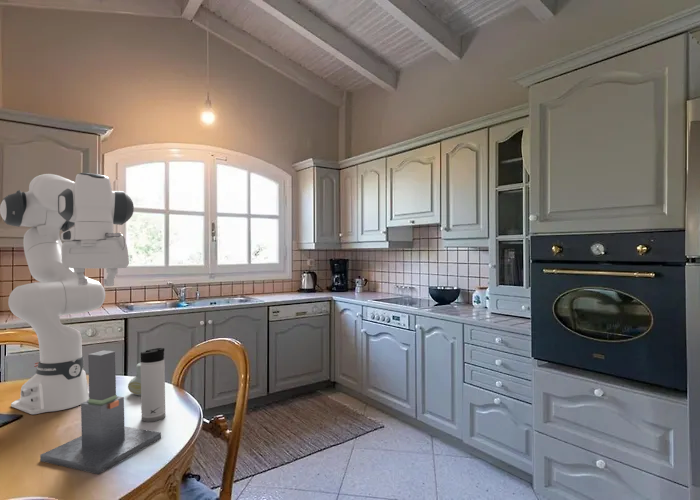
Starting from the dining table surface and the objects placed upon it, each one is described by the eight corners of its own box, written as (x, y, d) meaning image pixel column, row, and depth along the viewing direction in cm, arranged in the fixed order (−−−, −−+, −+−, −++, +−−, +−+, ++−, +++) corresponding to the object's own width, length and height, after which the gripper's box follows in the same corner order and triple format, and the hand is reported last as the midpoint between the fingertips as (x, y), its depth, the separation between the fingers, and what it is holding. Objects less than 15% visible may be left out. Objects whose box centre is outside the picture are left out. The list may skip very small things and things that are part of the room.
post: (89, 420, 102) (87, 354, 102) (104, 414, 106) (102, 350, 106) (102, 422, 101) (100, 355, 101) (117, 416, 105) (115, 351, 105)
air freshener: (123, 395, 142) (123, 365, 142) (143, 387, 150) (143, 359, 150) (149, 398, 138) (148, 368, 138) (168, 390, 146) (167, 361, 146)
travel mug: (157, 422, 119) (155, 351, 119) (136, 421, 120) (135, 350, 120) (171, 414, 125) (169, 346, 125) (151, 412, 126) (149, 345, 126)
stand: (40, 461, 98) (39, 409, 98) (108, 429, 115) (107, 385, 115) (98, 474, 92) (97, 418, 92) (161, 438, 109) (160, 391, 109)
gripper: (134, 232, 113) (135, 285, 113) (78, 234, 119) (79, 284, 120) (113, 232, 107) (115, 287, 107) (56, 234, 114) (57, 286, 114)
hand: (95, 285), depth 113 cm, fingers open, 8 cm apart
